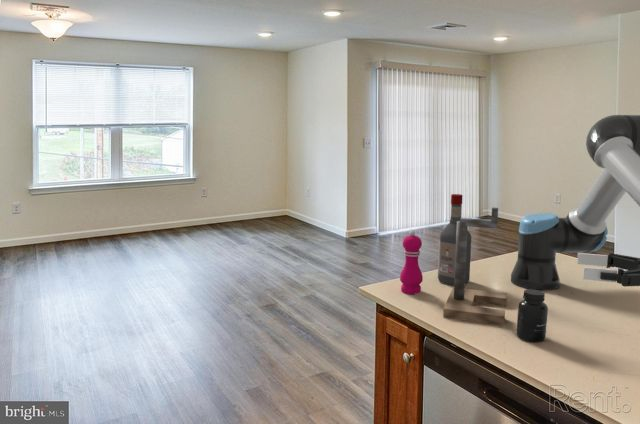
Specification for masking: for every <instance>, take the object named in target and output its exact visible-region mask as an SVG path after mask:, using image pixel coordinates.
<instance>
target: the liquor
mask: <svg viewBox="0 0 640 424" xmlns="http://www.w3.org/2000/svg"><path fill="white" fill-rule="evenodd" d="M462 204H463V194H459V193H453V194H451V195H450V205H451V207H450V219H449V223H448V224H447V225H446V226H445V227H444V228H443V229H442V230H441V231H440V232H439V234H438V255H437V256H438V257H437V258H438V259H437V261H438V262H437V279H438V281H439V282H440V283H441V284H445V285H448V286H449V285H450V286H453V287H454V277H455V254H456V230H457V221H460V219H461V218H462ZM471 252H472V235H471V232H470V231H469V230H468V229H467V248H466V270H465V284H468V283H469V281H470V277H471V276H470V275H471V274H470V273H471Z"/></svg>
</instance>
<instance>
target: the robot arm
mask: <svg viewBox="0 0 640 424" xmlns="http://www.w3.org/2000/svg"><path fill="white" fill-rule="evenodd" d="M585 145H586V150H587V152H588V155H589V157H590V159H591V160H592V161H593V162H594V163H595V165H596V166H597V167H599V168H602V170H601V172H600V174H599V175H598V177H596V180H595V181H594V183H593V185H592V186H590V188H589V191H588V192H587V193H586V195H585V197H584V198H583V200H582V201H581V203H580V204H579V206H575V207H574V208H572V209H570V210H569V212H568V214H567V216H565V217H559V215H557V214H555V213H551V212H544V213H543V212H538V213H531V214H526V215H524V216H523V217H522V218H521V219H520V221H519V228H518V246H517V260H516V262H515V264H514V267H513V269H512V272H511V274H510V282H511V283H512V284H514V285H515V286H517V287H518V286H519V287H520V288H526V289H534V290H539V291H542V290H544V291H545V290H546V291H547V290H548V291H549V290H556V289H558V288H559V286H560V276H559V272H558V268H557V265H556V258H557V257H556V254H559V253H561V254H562V253H564V254H565V253H577V259H576V260H577V261H576V264H577V265H585V266H583V270H582V280H587V281H588V280H589V281H599V282H608V283H609V282H610V283H617V284H620V285H621V286H622V287H626V288H627V287H640V257H636V256H635V257H634V256H629V255H625V254H617V253H612V252H610V253H609V254H598V253H596V254H593V253H591V252H595V251H599V250H600V249H601V248H603V246H604V245H605V244H606V242H607V239H608V237H607V235H608V227H607V223H606V220H607V219H608V217H609V215H610V214H611V213H612V212H613V210H614V209H615V208H616V206H617V204H619V202H620V201H621V199H622V198H623V196H624V195H625V194H626V193H627V194H628V195H629V196H630V198H631V199H632V200H633V201H634V202H635V203H636V205H638V207H640V114H632V115H631V114H612V115H607V116H605V117H603V118H601V119H599V120H598V121H596V122H595V123H594V124H593V125H592V126H591V128H590V129H589V131H588V133H587V136H586V142H585ZM589 266H592V267H589ZM593 266H597V267H593ZM601 267H606V268H601ZM611 267H613V268H614V267H615V268H617V269H612V268H611Z"/></svg>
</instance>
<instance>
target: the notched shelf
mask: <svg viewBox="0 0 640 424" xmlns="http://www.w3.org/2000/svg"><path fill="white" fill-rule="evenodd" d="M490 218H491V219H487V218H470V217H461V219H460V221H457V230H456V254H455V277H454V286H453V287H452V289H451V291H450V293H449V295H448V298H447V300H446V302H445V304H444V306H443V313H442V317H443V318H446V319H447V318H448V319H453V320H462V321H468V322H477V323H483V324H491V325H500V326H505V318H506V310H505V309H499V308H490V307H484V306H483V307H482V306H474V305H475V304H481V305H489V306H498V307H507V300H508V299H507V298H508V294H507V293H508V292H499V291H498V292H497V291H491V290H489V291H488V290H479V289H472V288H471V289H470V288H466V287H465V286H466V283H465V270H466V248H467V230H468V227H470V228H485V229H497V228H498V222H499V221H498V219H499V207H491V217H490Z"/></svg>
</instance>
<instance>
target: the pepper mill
mask: <svg viewBox="0 0 640 424" xmlns="http://www.w3.org/2000/svg"><path fill="white" fill-rule="evenodd" d="M422 244H423V243H422V239H421V238H420V237H419V236H417V235H416V232H415V230H410V231H409V235H407V236H405V237H404V238H403V240H402V248H403V249H404V250H403V252H404V253H403V255H404V256H405V259H404V260H405V262H404V266H403V268H402V269H401V272H400V275H399V280H400V282H401V283H402V284H401V286H400V287H401V288H400V291H401V292H402V293H404V294H407V295H417V294H420V293H421V291H422V286H421V284H422V282H423V280H424V279H423V277H424V276H423V273H422V270H421V268H420V265H419V257H420V255H421V251H420V249H421V248H422Z"/></svg>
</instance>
